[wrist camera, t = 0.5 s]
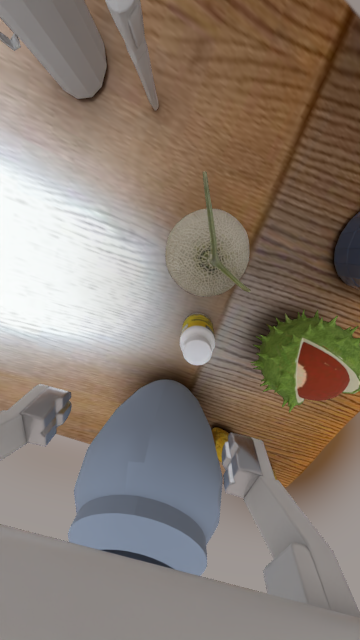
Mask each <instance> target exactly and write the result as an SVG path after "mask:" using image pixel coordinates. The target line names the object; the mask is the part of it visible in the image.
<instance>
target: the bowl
mask: <svg viewBox="0 0 360 640" xmlns="http://www.w3.org/2000/svg"><path fill="white" fill-rule="evenodd" d="M334 264H335V267H336V271H337V274H338V276H339V277H340V278H341V279H342V280H343V281H344V283H346V284H347V285H349V286H351V287H353V288H355V289H358V290H360V212H359V213H358V214H356V215H355V216H354V217H353V218H352V219H351V220H350V221H349V223H348V224H347V226H346V227H345V228H344V230H343V231H342V233H341V234H340V237H339V240H338V242H337V245H336V247H335V256H334Z"/></svg>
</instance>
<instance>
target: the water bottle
mask: <svg viewBox="0 0 360 640" xmlns="http://www.w3.org/2000/svg"><path fill="white" fill-rule="evenodd" d="M0 18H1V19H2V20H3V21H4V23H5V24H6V25H7V26H8V27H9V28H10V29H11V30H12V32H13V33H14V34H13V36H12V38H11V40H10V39H9V38H8V37H6V36H5V35H4V34H2V33H1V32H0V40H1V41H2V42H3V43H5V44H6V45H7V46H9V47H10V48H11V49H12V50H14V51H15V50H17V49H18V48H20V47H21V46H20V42H19V39H18V37H19V38H20V39H21V41H22V42H23V43H24V44H25V45H26V46H27V48H28V49H29V50H30V51H31V52H32V53H33V55H34V56H35V57H36V58H37V59H38V61H39V62H40V63H41V64H42V65H43V66H44V68H45V69H46V70H47V71H48V72H49V73H50V75H51V76H52V77H53V78H54V79H55V80H56V82H57V83H58V84H59V85H60V86H61V87H62V89H63V90H64V91H66V92H67V93H69V94H70V95H72V96H74V97H75V98H77V99H81V98H89V97H93V96H94V94H95V93H96V92H97V91H98V90H99V89H100V88H101V87H102V83H103V79H104V75H105V71H106V67H107V64H106V56H105V48H104V42H103V40H102V38H101V36H100V34H99V32H98V30H97V27H96V25H95V23H94V21H93V19H92V17H91V14H90V12H89V10H88V8H87V6H86V4H85V2H84V0H0Z"/></svg>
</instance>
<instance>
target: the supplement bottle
mask: <svg viewBox="0 0 360 640" xmlns="http://www.w3.org/2000/svg"><path fill="white" fill-rule="evenodd" d="M180 348H181V350H182V351H183V356H184V358H185V360H186V361H187V362H188V363H190V364H193V365H203V364H205V363H207V362H208V361H209V360H210V358H211V356H212V352H213V350H214V348H215V336H214V330H213V325H212V322H211V320H210V318H209V317H208V316H206V315H205V314H202V313H193V314H191V315H189V316H188V317H187V318H186V319H185V321H184V323H183V327H182V332H181V336H180Z"/></svg>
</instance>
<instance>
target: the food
mask: <svg viewBox="0 0 360 640" xmlns="http://www.w3.org/2000/svg"><path fill="white" fill-rule="evenodd" d="M211 431H212V435H213V439H214V443H215V448H216V452H217V456H218V460H219V461H220V462H222V449H223V446H224V444H225V442H227V441H228V436H229V433H228V432H226V431H224V430H223V429H220V428H213V429H212V430H211ZM272 471H273V469H272ZM273 474H274V477H275V480H277V478H276V475H275V472H274V471H273Z"/></svg>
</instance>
